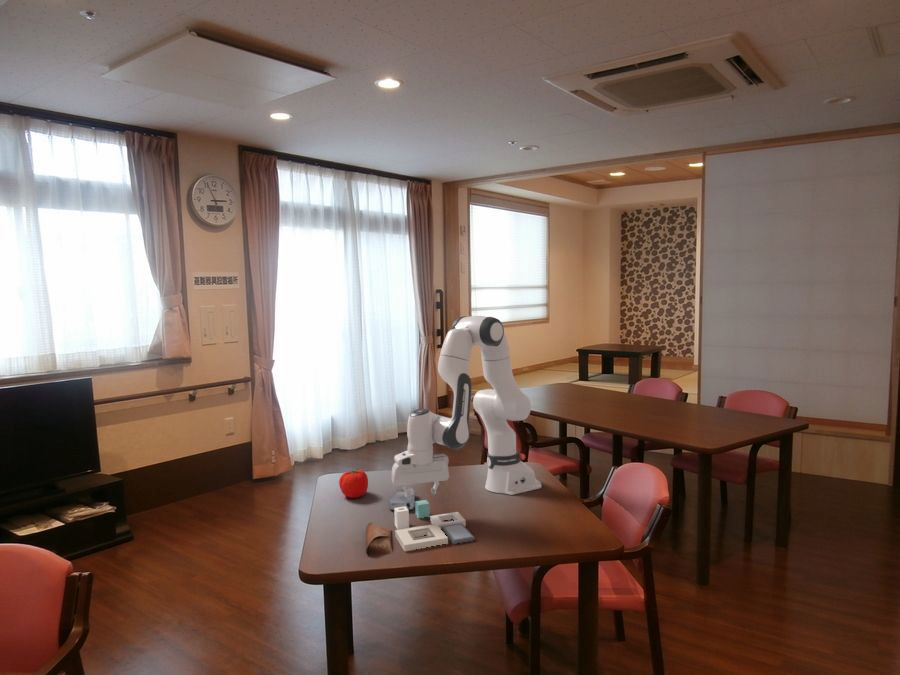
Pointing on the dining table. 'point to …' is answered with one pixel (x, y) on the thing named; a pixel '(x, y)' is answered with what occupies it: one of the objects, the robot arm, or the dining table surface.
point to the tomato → (354, 483)
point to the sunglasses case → (378, 540)
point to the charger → (401, 517)
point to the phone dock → (453, 527)
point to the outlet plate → (432, 539)
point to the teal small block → (422, 509)
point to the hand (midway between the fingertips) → (420, 495)
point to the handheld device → (402, 499)
